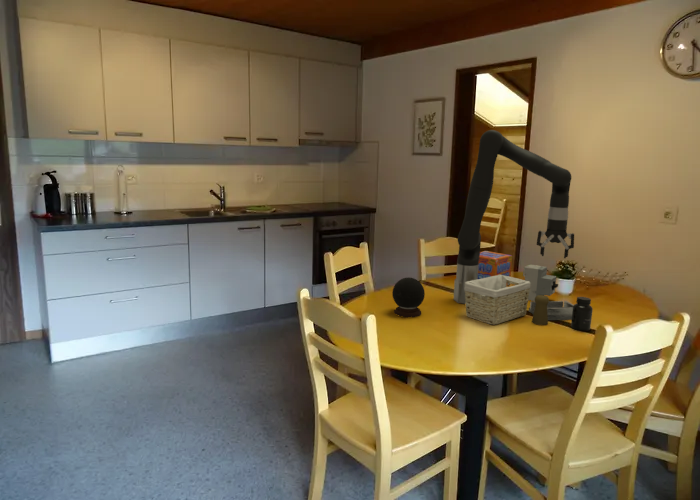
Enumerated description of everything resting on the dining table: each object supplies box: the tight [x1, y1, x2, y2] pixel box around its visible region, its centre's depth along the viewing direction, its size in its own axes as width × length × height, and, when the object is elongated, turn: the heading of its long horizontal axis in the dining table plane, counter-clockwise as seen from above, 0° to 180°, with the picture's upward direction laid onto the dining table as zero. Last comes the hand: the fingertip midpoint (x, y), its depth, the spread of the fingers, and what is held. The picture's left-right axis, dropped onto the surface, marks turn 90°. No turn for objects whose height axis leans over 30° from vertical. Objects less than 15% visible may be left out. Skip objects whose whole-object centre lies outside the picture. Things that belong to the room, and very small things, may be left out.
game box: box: [478, 250, 513, 287], centre depth 253 cm, size 16×16×16 cm
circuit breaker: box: [522, 264, 559, 302], centre depth 227 cm, size 8×14×15 cm, turn 53°
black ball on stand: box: [391, 277, 426, 318], centre depth 205 cm, size 13×13×15 cm
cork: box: [531, 295, 550, 326], centre depth 196 cm, size 6×6×11 cm
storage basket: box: [464, 275, 531, 326], centre depth 203 cm, size 24×16×15 cm
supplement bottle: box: [570, 296, 594, 332], centre depth 190 cm, size 7×7×12 cm
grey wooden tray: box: [528, 300, 575, 321], centre depth 206 cm, size 16×12×4 cm
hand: (553, 256), depth 207 cm, fingers open, 8 cm apart
